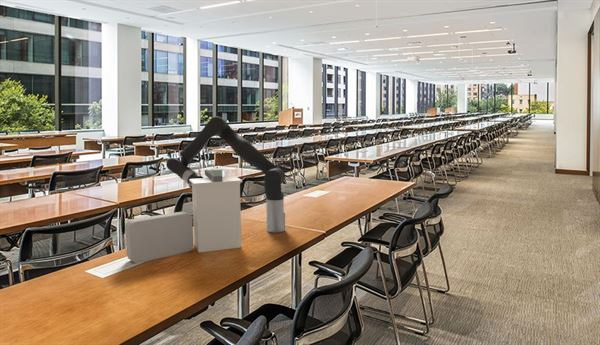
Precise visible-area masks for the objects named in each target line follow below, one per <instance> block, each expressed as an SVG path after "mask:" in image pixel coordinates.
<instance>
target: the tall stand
mask: <svg viewBox="0 0 600 345" xmlns="http://www.w3.org/2000/svg"><path fill="white" fill-rule="evenodd" d="M189 181H190V182H191V183H192V188H191V191H192V192H191V195H192V196H191V197H192V224H193V246H194V247H195V249H196V251H197V252H198V253H207V252H213V251H222V250H229V249H230V250H231V249H240V248H242V247H243V246H242V216H241V214H242V213H241V183H243V179H241V178H239V177H238V176H236V175H235V176H234V175H232V176H231V175H230V176H222V181H221V182H213V181H212V180H211V179H209V178H208V177H203V178H197V179H189Z"/></svg>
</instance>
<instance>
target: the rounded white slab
mask: <svg viewBox="0 0 600 345" xmlns="http://www.w3.org/2000/svg"><path fill="white" fill-rule="evenodd" d="M124 228H125V230H124V231H125V245H126V246H125V247H126V256H127V258H128V260H130V261H131V262H132V263H135V264H138V263H143V262H147V261H152V260H153V261H154V260H157V259H161V258H165V257H170V256H176V255H180V254H184V253H189V252H192V249H194V248H193V247H194V223H193V215H192V214H190V213H188V212H186V211H178V212H177V211H176V212H170V213H165V214H158V215H152V216H146V217H145V216H144V217H140V218H133V219H129V220H127V221H126V223H125V225H124Z"/></svg>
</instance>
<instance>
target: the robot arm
mask: <svg viewBox="0 0 600 345" xmlns="http://www.w3.org/2000/svg"><path fill="white" fill-rule="evenodd" d="M214 136H217V137H219V138H220V139H222V140H223V141H224V142H226V143H227V144H228V145H229V146H230V148H231V149H232V151H234V153H235V154H236V155H237V156H238V157H239V158H240V159H241V160H243V161H244V162H245V163H247V164H248V165H250V166H253V167H254V168H256V169H258V170H259V171H261V172H262V173H263V174H264V176H263V178H264V179H263V180H264V181H263V184H264V194H265V197H266V199H265V200H266V202H265V203H266V204H265V206H266V231H267V232H268V233H281V232H284V231H285V232H286V213H285V208H284V207H285V206H284V205H285V202H284V201H285V200H284V199H285V198H284V197H285V196H284V193H283V192H282V184H283V183H284V182H285V180H286V174H285V172H284V170H283V169H281V167H279V166H277V165H276V164H274V163H273V162H272V161H271V160H269V159H268V158H267V157H266V156H265V155H264V154H263V153H262V152H261V151H259V150H258V148H256V147H255V146H254V145H253V144H252V143H250V141H248V140H247V139H246V138H244V137H243V136H241V135H240V134H238V133H237V132H236V131H235V130H234V129H233V128H232V127H231V126H230V125H229V124H228V122H227V121H226V120H225V119H224V118H222V117H220V116H213V117H211V118H210V119H209V121H208V122H207V123H206V124H205V125H204V127H203V128H202V130H200V132H199V133H198V135H196V137H195V138H194V139H193V140H192V141H191V142H189V144H188V145H187V146H186V147H184V149H182V150H181V151H180V154H179V155H180V156H181V160H179V159H178V158H176V157H171V158H168V159H167V161H166V164H165V165H166V168H167V169H168V170H169V171H171V172H172V173H174V174H175V175H177V176H178V177H179V178H180V179H181V180H182V181H184V182H185V184H187V185H188V187H189V188H191V189H192V183H191V182H190V181H189V179H197V178H204V176H202V175H201V174H200V173H198V172H197V171H195V170H193V169H192V168H191V167H189V165H190V163H191V161H192V160H194V159H195V158H196V157H197V155H198V154H200V152H201V151H202V150H203V149H204V146H205V145H206V144H207V142H208V141H209V140H210V139H212V137H214Z"/></svg>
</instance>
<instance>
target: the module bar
mask: <svg viewBox="0 0 600 345" xmlns="http://www.w3.org/2000/svg"><path fill="white" fill-rule="evenodd" d="M204 175H205V177H206V178H209V179H211V180H212V181H213V182H221V181H222V177H223V169H222V168H219V167H218V168H211V169H204Z"/></svg>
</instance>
